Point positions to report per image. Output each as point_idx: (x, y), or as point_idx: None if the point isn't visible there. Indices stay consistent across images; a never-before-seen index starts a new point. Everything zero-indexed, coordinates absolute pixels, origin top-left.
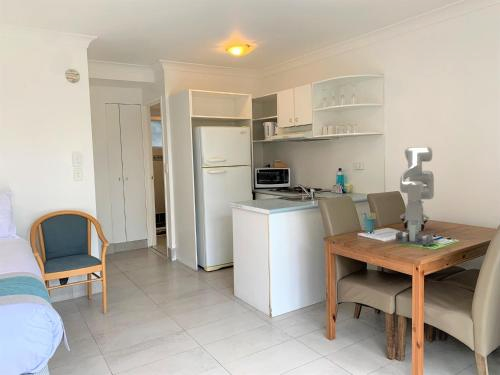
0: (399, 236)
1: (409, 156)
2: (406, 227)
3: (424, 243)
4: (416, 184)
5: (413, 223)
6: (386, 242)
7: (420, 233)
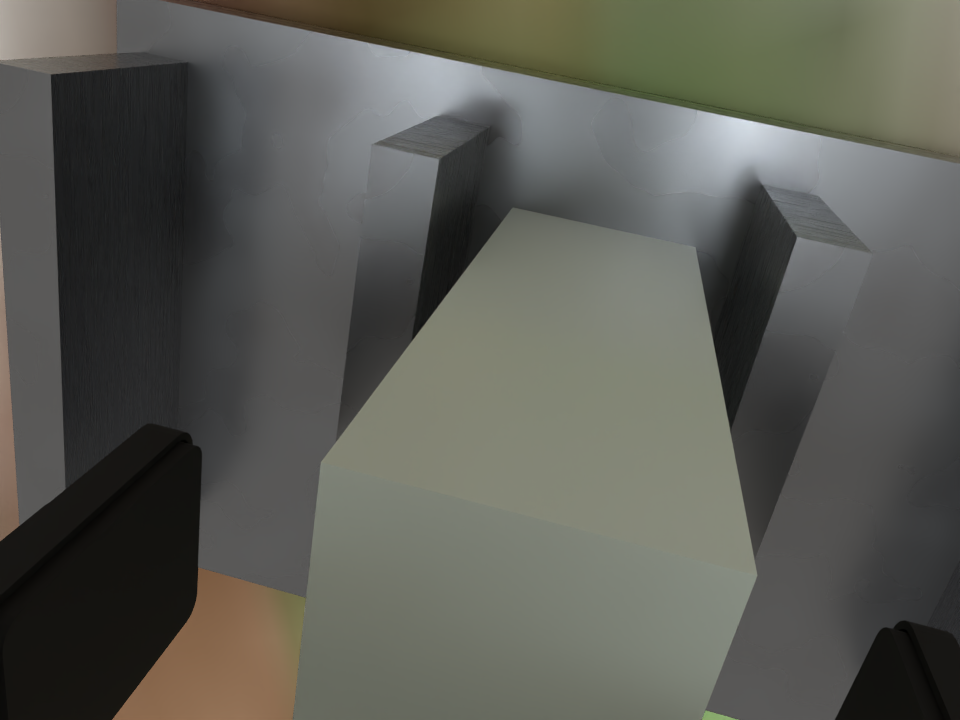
0: (139, 414)
1: None
2: (162, 603)
3: None
4: None
5: (388, 676)
6: (9, 529)
7: (770, 460)
